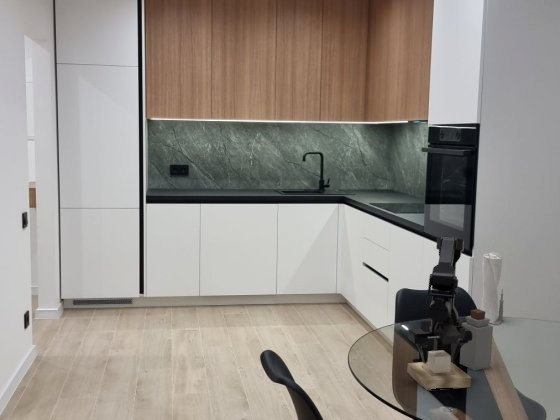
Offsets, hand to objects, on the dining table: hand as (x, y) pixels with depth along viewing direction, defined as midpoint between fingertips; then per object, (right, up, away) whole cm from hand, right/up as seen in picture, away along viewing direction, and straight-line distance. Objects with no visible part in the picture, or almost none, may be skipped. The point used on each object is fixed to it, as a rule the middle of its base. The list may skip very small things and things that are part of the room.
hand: (438, 362), depth 205 cm
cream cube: (0, -2, 0) cm, 2 cm away
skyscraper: (+33, +2, +59) cm, 67 cm away
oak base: (0, -5, +1) cm, 6 cm away
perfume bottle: (+15, -4, +13) cm, 20 cm away
